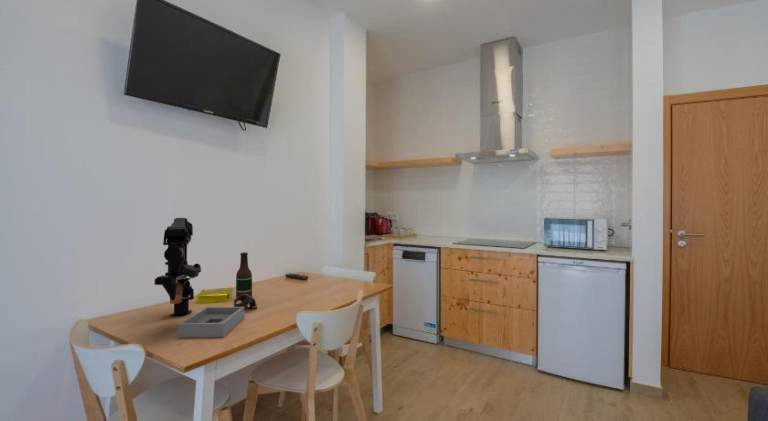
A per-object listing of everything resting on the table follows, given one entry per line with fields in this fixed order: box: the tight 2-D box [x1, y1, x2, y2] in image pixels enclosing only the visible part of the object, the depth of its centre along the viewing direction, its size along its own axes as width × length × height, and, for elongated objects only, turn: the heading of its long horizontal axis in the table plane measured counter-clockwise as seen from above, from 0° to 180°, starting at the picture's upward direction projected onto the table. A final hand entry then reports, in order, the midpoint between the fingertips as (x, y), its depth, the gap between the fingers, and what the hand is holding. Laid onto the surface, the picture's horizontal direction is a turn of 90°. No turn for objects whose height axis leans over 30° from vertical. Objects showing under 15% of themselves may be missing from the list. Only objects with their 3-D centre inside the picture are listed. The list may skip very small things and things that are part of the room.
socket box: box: [177, 306, 245, 339], centre depth 140 cm, size 22×16×5 cm
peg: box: [169, 284, 182, 305], centre depth 139 cm, size 4×4×7 cm
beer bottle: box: [235, 251, 253, 300], centre depth 184 cm, size 8×8×24 cm
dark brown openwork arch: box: [233, 294, 258, 310], centre depth 166 cm, size 12×10×8 cm
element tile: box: [196, 287, 233, 305], centre depth 184 cm, size 15×15×5 cm
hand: (176, 298), depth 139 cm, fingers closed on peg, 4 cm apart
